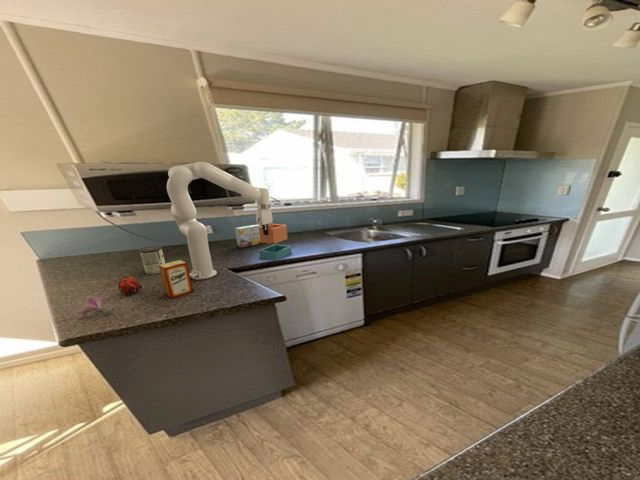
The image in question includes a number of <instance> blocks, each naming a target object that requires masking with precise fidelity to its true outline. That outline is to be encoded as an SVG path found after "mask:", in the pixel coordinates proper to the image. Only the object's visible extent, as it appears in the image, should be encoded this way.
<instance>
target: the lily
mask: <svg viewBox="0 0 640 480" xmlns="http://www.w3.org/2000/svg"><path fill="white" fill-rule="evenodd" d="M106 293H107V292H104V293H102V294H101V295H100V296H98V297H95V296H89V297H88V298H87V300H86V306H85V307H83V308H82V309H81V310H80V311H79V312H78V313H81V315H80V317H79V319H80V320H81V319H82V318H84V317H85V316H86V315H87V314H89V313H90V312H99V310H101V311H102V312H104V313H105V314H106V315H107V316H108V315H109V314H108V312H106V311H105V310H104V309H103V308H101V306H102V303H103V302H104V301H106V300H107V299H109V298H110V297H109V296H105V295H106Z"/></svg>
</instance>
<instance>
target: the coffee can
mask: <svg viewBox="0 0 640 480" xmlns="http://www.w3.org/2000/svg"><path fill="white" fill-rule="evenodd" d="M138 252H139V254H140V257H141V261H142V264H143V268H144V273H145V274H146V275H155V274H159V273H160V274H161V272H160V269H159V265H162V264H166V262H165V256H164V253H163V248H162V246H161V245H151V246H145V247H142V248H139V250H138Z"/></svg>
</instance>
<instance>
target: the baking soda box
mask: <svg viewBox="0 0 640 480" xmlns="http://www.w3.org/2000/svg"><path fill="white" fill-rule="evenodd" d="M159 269H160V275H161V280H162V284H163V289H164V292H165V295H166V296H167V297H169V298H170V299H174V298H177V297H180V296H184V295H187V294H189V293H193V292H194V289H193V284H192V280H191V279H192V278H191V277H190V275H189V274H190V270H189V265H188V262H187V261H185V260H182V259H179V260H174V261H169V262H167V263H166V262H165V264H162V265H159Z"/></svg>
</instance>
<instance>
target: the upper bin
mask: <svg viewBox="0 0 640 480" xmlns="http://www.w3.org/2000/svg"><path fill="white" fill-rule="evenodd" d="M267 229H268V235H264V234H263V229H262V227H259V233H260V241H261V242H263V243H262V244H270V245H271V244H272V245H275V244H278V243H281V242H283V241H286V240H288V238H289V237H288V227H287V224H280V223H272V224H271V225H270V228H267Z"/></svg>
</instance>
